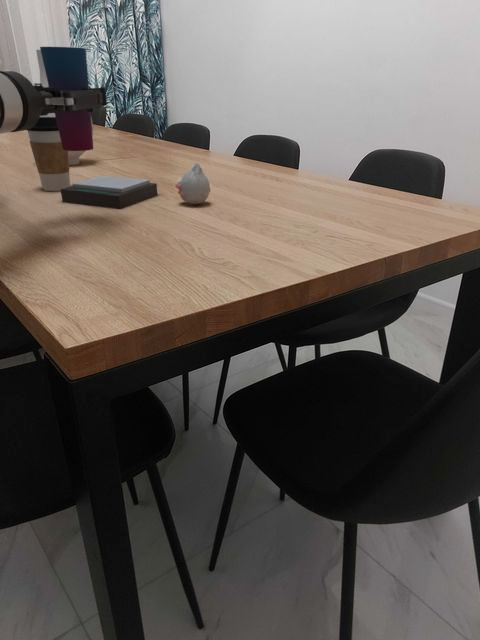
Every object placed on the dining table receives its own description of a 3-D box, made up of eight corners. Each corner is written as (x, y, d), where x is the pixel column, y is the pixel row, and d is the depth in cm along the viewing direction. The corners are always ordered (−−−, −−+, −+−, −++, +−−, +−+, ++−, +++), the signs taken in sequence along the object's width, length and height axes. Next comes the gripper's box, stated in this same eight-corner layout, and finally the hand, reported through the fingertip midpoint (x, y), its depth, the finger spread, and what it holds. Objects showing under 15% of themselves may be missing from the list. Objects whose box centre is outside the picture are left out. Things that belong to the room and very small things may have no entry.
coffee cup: (33, 192, 110) (18, 117, 103) (41, 184, 117) (28, 114, 110) (72, 192, 111) (61, 117, 104) (79, 184, 118) (68, 114, 111)
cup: (57, 146, 88) (41, 47, 81) (98, 146, 90) (85, 48, 83) (56, 152, 83) (38, 46, 75) (99, 151, 85) (85, 47, 77)
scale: (62, 201, 103) (59, 185, 101) (104, 189, 114) (102, 174, 113) (119, 208, 99) (117, 191, 97) (157, 195, 110) (156, 179, 108)
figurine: (174, 201, 105) (171, 161, 101) (206, 199, 107) (205, 159, 103) (179, 208, 100) (177, 166, 96) (214, 206, 102) (212, 165, 98)
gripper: (-54, 130, 71) (40, 117, 90) (69, 135, 67) (139, 121, 87) (-71, 68, 67) (32, 70, 87) (59, 72, 64) (135, 72, 84)
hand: (86, 96), depth 87 cm, fingers closed on cup, 6 cm apart
